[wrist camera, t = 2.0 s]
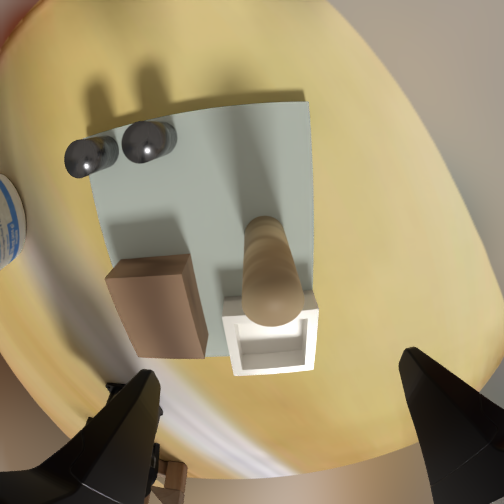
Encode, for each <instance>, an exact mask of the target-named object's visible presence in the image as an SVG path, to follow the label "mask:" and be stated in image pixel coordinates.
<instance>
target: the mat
mask: <svg viewBox="0 0 504 504" xmlns="http://www.w3.org/2000/svg"><path fill="white" fill-rule="evenodd" d="M145 121H161V122H167V123H169V124H171V125H172V126H173V127H174V128H175V130H176V132H177V144H176V146H175V148H174V149H173V151H172V152H170V153H169V154H167V155H165V156H162V157H160V158H157V159H154V160H152V161H149V162H146V163H142V164H138V163H133V162H131V161H130V160H128V159H127V158H126V156H125V155H124V153H123V151H122V146H121V141H122V137H123V134H124V132H125V130H126V129H127V128H128V127H129V126H130V125H132V124H129V125H125V126H122V127H118V128H115V129H111V130H108V131H105V132H101V133H98V134H95V135H92V136H89V137H86V138H93V137H99V136H110V137H112V138H114V139H115V140H116V142H117V144H118V147H119V155H118V159H117V161H116V162H115V163H114V164H113V165H112V166H111V167H109V168H106V169H103V170H101V171H98V172H95V173H93V174H90V175H89V178H90V183H91V188H92V193H93V197H94V201H95V206H96V210H97V214H98V218H99V222H100V226H101V229H102V233H103V237H104V240H105V244H106V247H107V250H108V254H109V257H110V260H111V263H112V266H113V268H114V267H115V265H116V264H117V263H118V262H119V261H120V259H131V258H143V257H155V256H168V255H180V254H191V259H192V263H193V268H194V273H195V278H196V282H197V287H198V291H199V296H200V300H201V304H202V309H203V313H204V317H205V321H206V325H207V329H208V333H209V336H208V342H207V347H206V353H205V357H215V356H230V354H229V350H228V345H227V340H226V335H225V330H224V325H223V320H222V311H223V304H224V297H229V296H242V280H243V258H244V236H245V229H246V227H247V225H248V224H249V222H250V221H251V220H253V219H254V218H256V217H259V216H271V217H273V218H275V219H277V220H278V221H279V222H280V223H281V224H282V226H283V228H284V231H285V234H286V238H287V241H288V244H289V247H290V250H291V253H292V257H293V260H294V263H295V266H296V270H297V273H298V276H299V280H300V283H301V286H302V290H303V291H305V290H312V289H313V250H314V204H313V166H312V144H311V127H310V112H309V102H273V103H256V104H244V105H234V106H225V107H217V108H209V109H202V110H196V111H190V112H184V113H178V114H173V115H168V116H163V117H158V118H154V119H149V120H145ZM86 138H83V139H86Z"/></svg>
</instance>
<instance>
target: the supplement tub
mask: <svg viewBox="0 0 504 504" xmlns="http://www.w3.org/2000/svg"><path fill="white" fill-rule="evenodd" d="M25 237H26V220H25V214H24V209H23V205H22V202H21V199H20V197H19V195H18V192H17V190H16V189H15V187H14V186H13V184H12V183H11V181H10V180H9V179H8V178H7V177H6V176H4V175H2V174H0V270H1V269H2V268H4V267H5V266H6V265H7V264H9V263H10V262H11V261H12V260H13V259H15V258H16V257H17V256H18V255H19V254H20V252H21V251H22V249H23V246H24V243H25Z"/></svg>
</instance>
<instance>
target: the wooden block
mask: <svg viewBox="0 0 504 504" xmlns="http://www.w3.org/2000/svg"><path fill="white" fill-rule="evenodd" d="M187 469H188V468H187V466H186V465H185V464H184V463H181V462H173V461H168V463H167V462H165V461H162V460H159V468H158V474H157V476H160V477H165V484H164V488H160V487H155V486H152V485H151V490H152V491H153V493H154V494H155V495H156V496H157V498H158V499H159V500H160V501H161V502H162V503H163V504H183V503H184V492H185V485H186V477H187ZM149 497H150V494H149V495H148V496H147V497H146V498H145V499H144V504H148V503H149Z"/></svg>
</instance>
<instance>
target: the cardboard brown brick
mask: <svg viewBox="0 0 504 504" xmlns="http://www.w3.org/2000/svg"><path fill="white" fill-rule="evenodd" d="M105 281H106V284H107V286H108V289H109V292H110V294H111V297H112V299H113V302H114V304H115V307H116V309H117V312H118V314H119V316H120V319H121V321H122V323H123V326H124V328H125V330H126V332H127V334H128V337H129V339H130V341H131V343H132V345H133V347H134V349H135V351H136V353H137V355H138V357H145V358H168V359H205V353H206V347H207V342H208V336H209V333H208V329H207V325H206V321H205V317H204V313H203V309H202V304H201V300H200V296H199V291H198V287H197V282H196V278H195V273H194V268H193V263H192V259H191V254H180V255H168V256H155V257H143V258H131V259H120V261H119V262H118V263H117V264H116V265H115V267H114V268H113V269H112V270H111V272H110V273H109V274H108V275H107V276H106V278H105Z"/></svg>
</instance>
